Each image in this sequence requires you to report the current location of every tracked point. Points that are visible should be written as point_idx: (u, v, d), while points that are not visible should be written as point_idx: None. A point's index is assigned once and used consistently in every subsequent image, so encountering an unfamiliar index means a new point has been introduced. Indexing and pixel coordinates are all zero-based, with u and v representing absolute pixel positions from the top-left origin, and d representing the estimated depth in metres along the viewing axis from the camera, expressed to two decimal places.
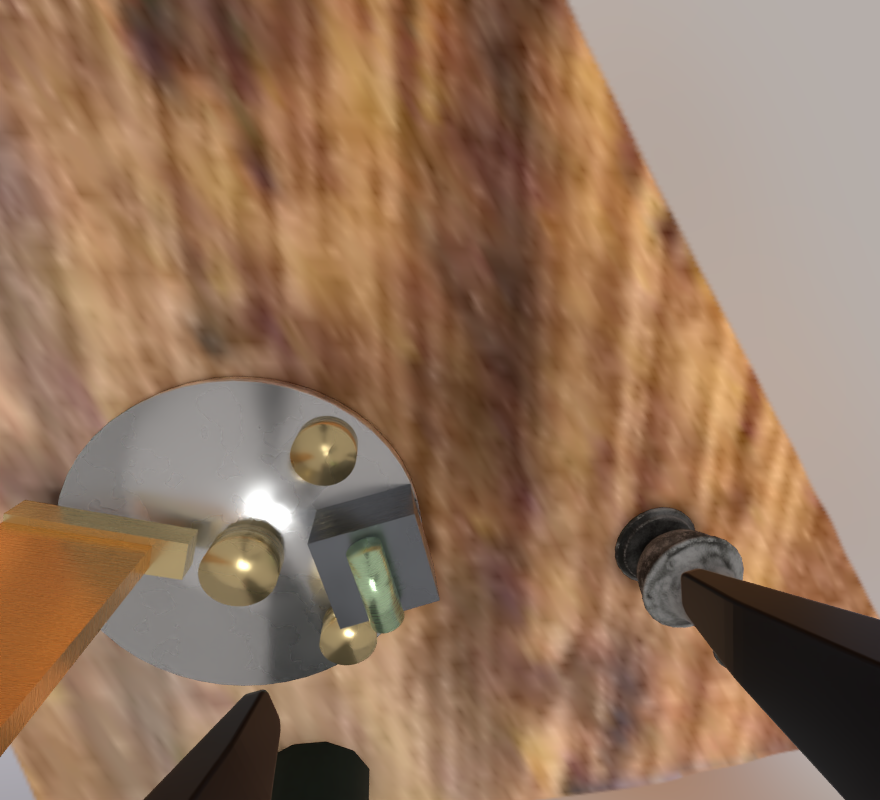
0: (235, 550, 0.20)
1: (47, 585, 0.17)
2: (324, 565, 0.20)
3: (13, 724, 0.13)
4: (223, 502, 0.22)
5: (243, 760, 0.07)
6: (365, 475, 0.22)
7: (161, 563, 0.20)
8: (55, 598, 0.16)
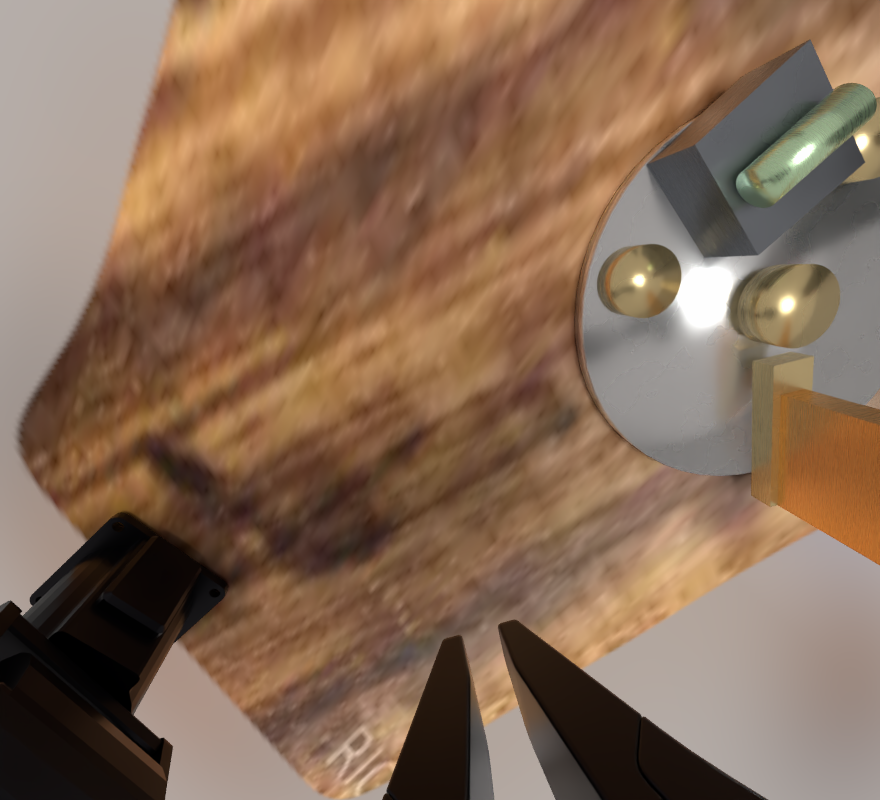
0: (775, 322, 0.19)
1: (846, 466, 0.18)
2: (781, 223, 0.17)
3: None
4: (717, 350, 0.21)
5: (473, 694, 0.08)
6: (650, 223, 0.19)
7: (798, 380, 0.20)
8: (862, 458, 0.17)
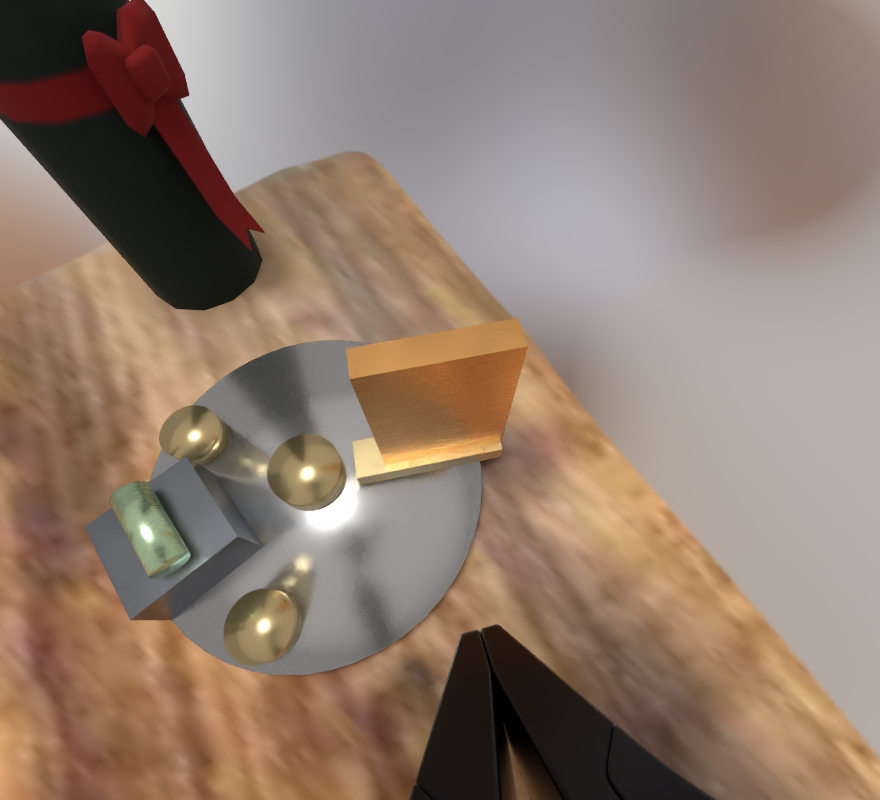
0: (312, 490, 0.21)
1: (425, 432, 0.19)
2: (215, 519, 0.20)
3: None
4: (351, 517, 0.23)
5: (494, 688, 0.08)
6: (223, 607, 0.21)
7: (373, 450, 0.22)
8: (410, 429, 0.19)
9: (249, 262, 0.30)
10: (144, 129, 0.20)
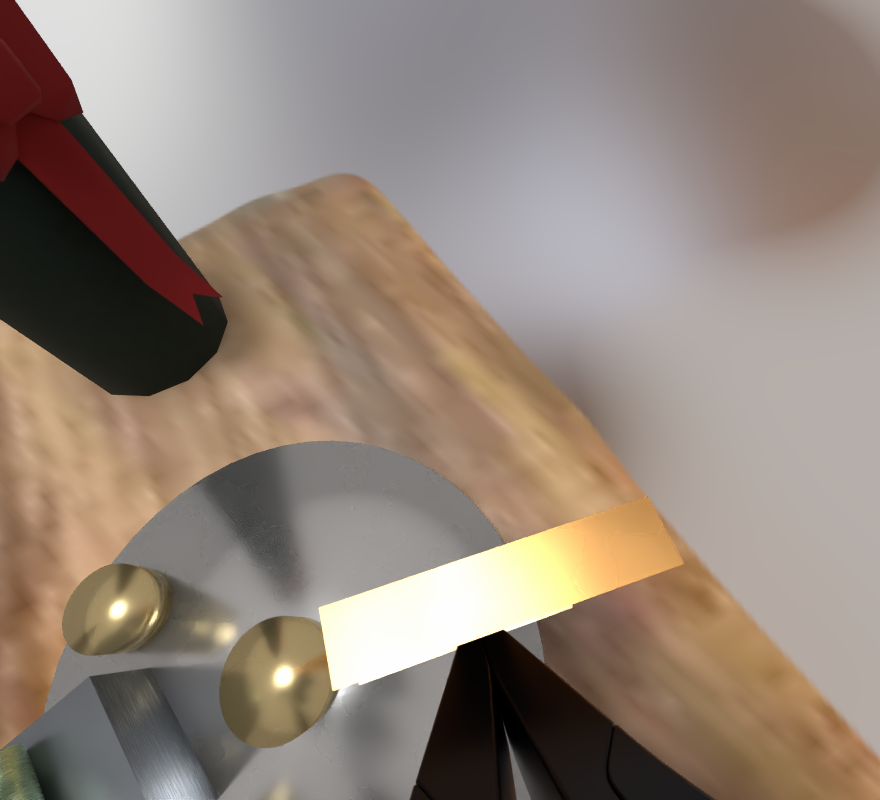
0: (292, 720, 0.14)
1: None
2: None
3: None
4: (351, 740, 0.15)
5: (494, 688, 0.08)
6: None
7: None
8: None
9: (207, 329, 0.23)
10: None
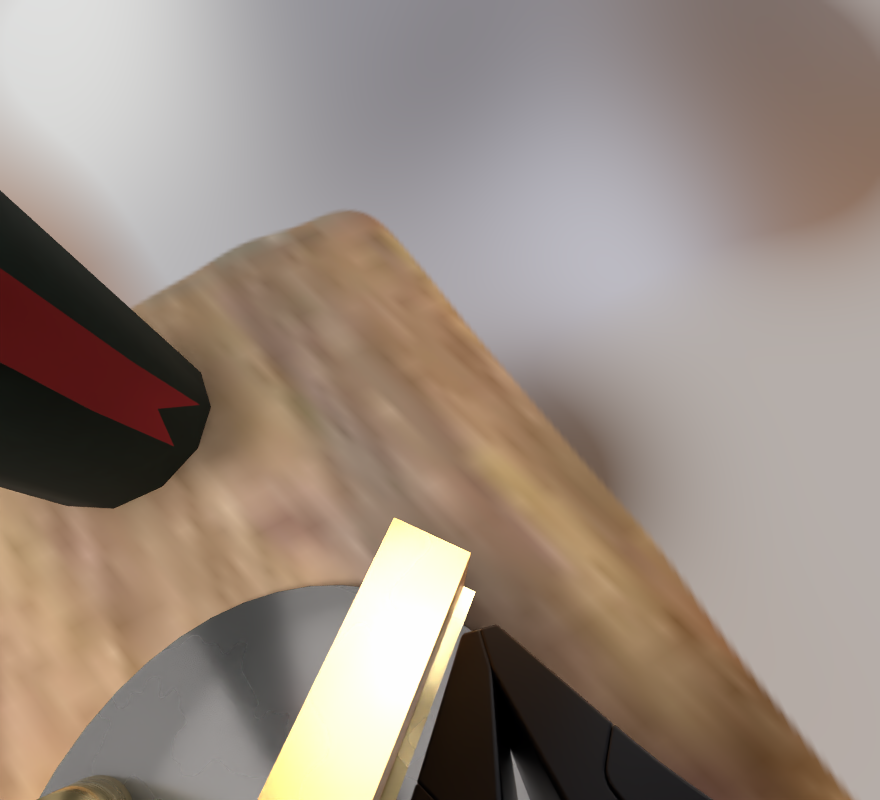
0: None
1: None
2: None
3: None
4: None
5: (495, 687, 0.08)
6: None
7: None
8: (382, 789, 0.09)
9: (185, 425, 0.18)
10: None
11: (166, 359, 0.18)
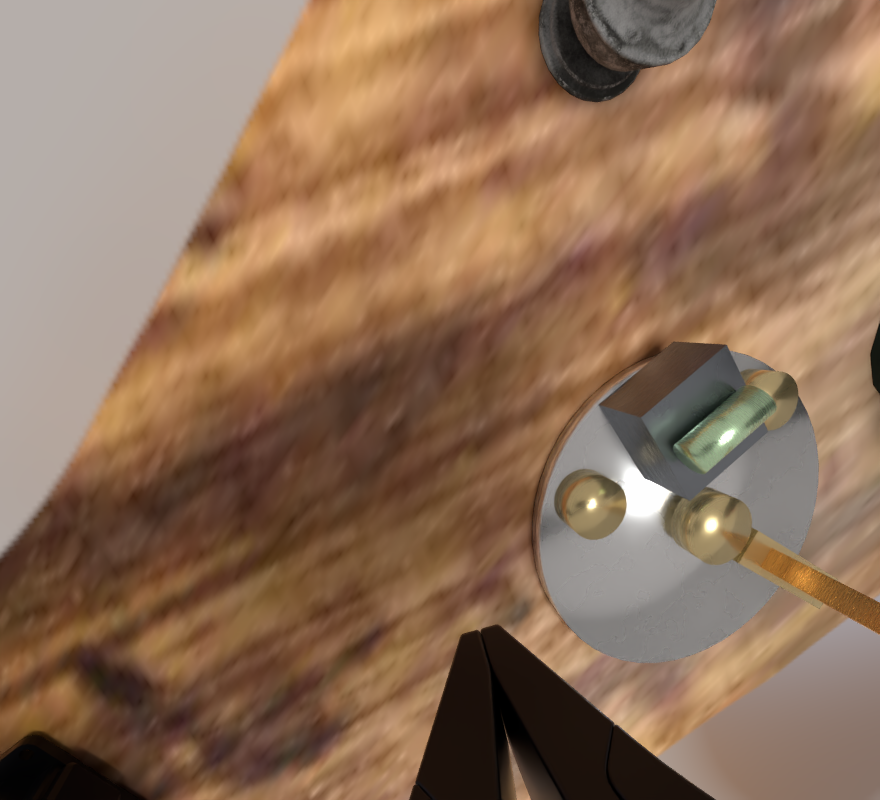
0: (714, 556, 0.22)
1: (851, 618, 0.21)
2: (707, 476, 0.20)
3: None
4: (654, 553, 0.24)
5: (494, 688, 0.08)
6: (601, 450, 0.22)
7: (762, 549, 0.23)
8: None
9: None
10: None
11: None
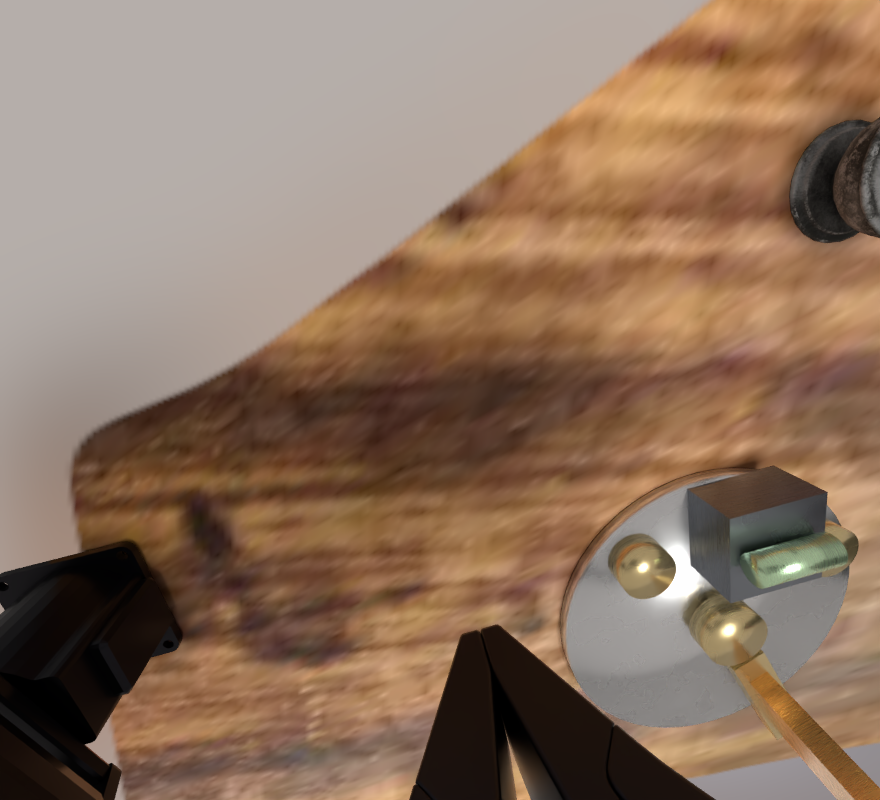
0: (720, 656, 0.24)
1: (812, 760, 0.23)
2: (754, 590, 0.22)
3: None
4: (665, 630, 0.26)
5: (494, 688, 0.08)
6: (669, 527, 0.24)
7: (759, 669, 0.26)
8: (818, 765, 0.23)
9: None
10: None
11: None
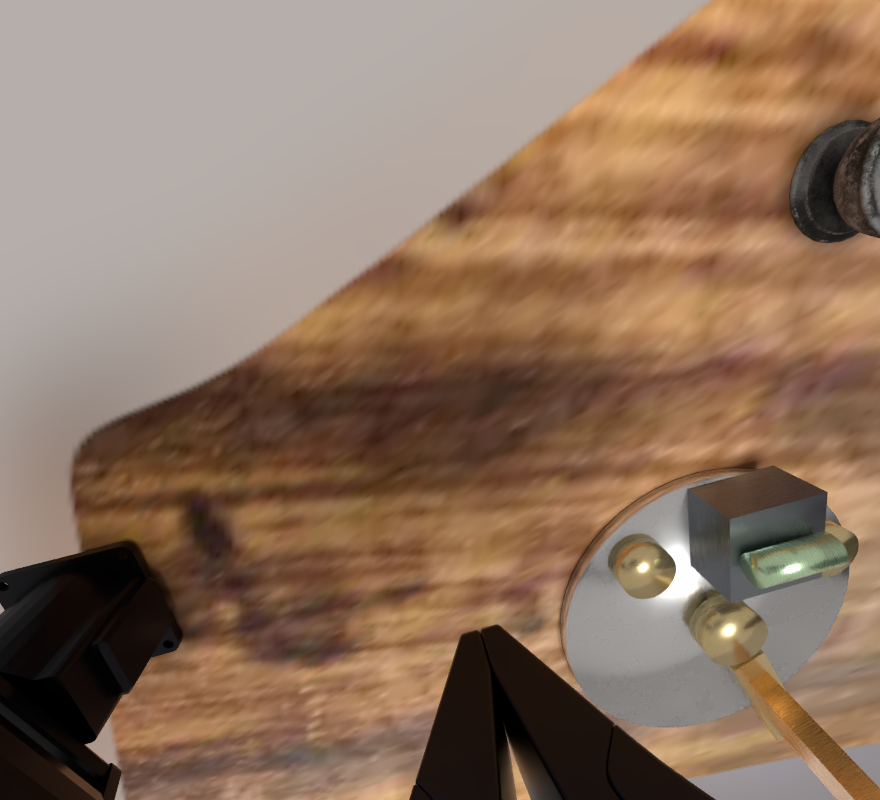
0: (720, 656, 0.24)
1: (812, 760, 0.23)
2: (754, 590, 0.22)
3: None
4: (665, 630, 0.26)
5: (494, 688, 0.08)
6: (669, 527, 0.24)
7: (759, 669, 0.26)
8: (818, 765, 0.23)
9: None
10: None
11: None
